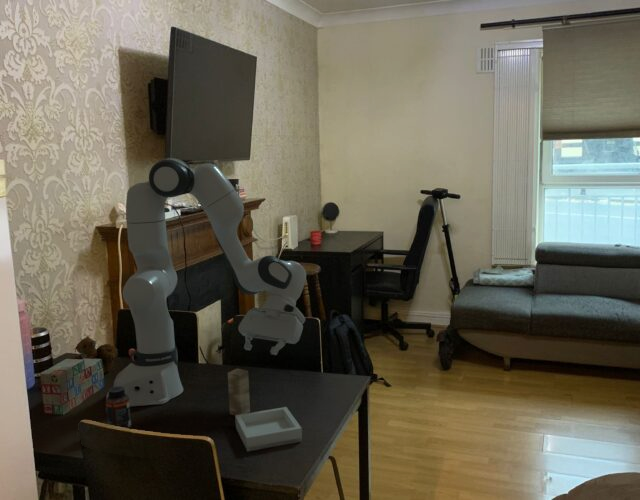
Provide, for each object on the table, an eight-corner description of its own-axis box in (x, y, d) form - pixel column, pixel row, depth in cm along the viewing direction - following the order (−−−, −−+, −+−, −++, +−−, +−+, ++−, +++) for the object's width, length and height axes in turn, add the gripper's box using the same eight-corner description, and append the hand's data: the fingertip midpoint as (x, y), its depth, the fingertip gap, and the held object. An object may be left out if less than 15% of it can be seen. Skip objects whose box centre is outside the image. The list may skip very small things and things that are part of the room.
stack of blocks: (87, 385, 196) (84, 348, 194) (105, 387, 195) (101, 349, 193) (43, 414, 176) (39, 372, 174) (63, 415, 174) (59, 373, 172)
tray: (247, 451, 150) (246, 437, 149) (235, 427, 163) (235, 415, 162) (302, 441, 154) (301, 428, 154) (286, 419, 167) (286, 406, 167)
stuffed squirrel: (70, 375, 206) (66, 337, 204) (112, 365, 214) (109, 329, 212) (79, 383, 198) (75, 344, 196) (122, 373, 206) (119, 335, 204)
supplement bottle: (136, 427, 165) (133, 387, 163) (118, 436, 160) (114, 395, 158) (121, 422, 168) (118, 383, 166) (103, 431, 163) (99, 390, 161)
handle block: (229, 414, 172) (227, 372, 170) (238, 408, 175) (236, 368, 173) (241, 416, 170) (239, 375, 168) (250, 411, 173) (248, 370, 171)
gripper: (245, 301, 188) (226, 341, 182) (301, 308, 178) (283, 351, 171) (254, 312, 193) (236, 351, 186) (310, 320, 182) (293, 361, 176)
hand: (259, 351), depth 179 cm, fingers open, 8 cm apart
